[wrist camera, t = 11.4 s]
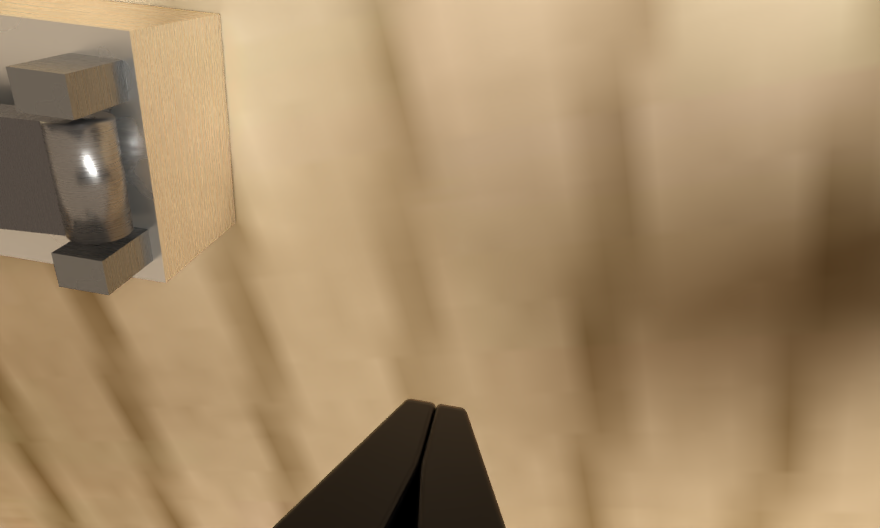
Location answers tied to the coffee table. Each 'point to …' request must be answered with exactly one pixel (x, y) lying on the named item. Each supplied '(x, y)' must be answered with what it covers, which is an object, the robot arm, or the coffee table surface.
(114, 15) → the white box with posts
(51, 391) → the coffee table surface
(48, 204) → the block
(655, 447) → the coffee table surface
